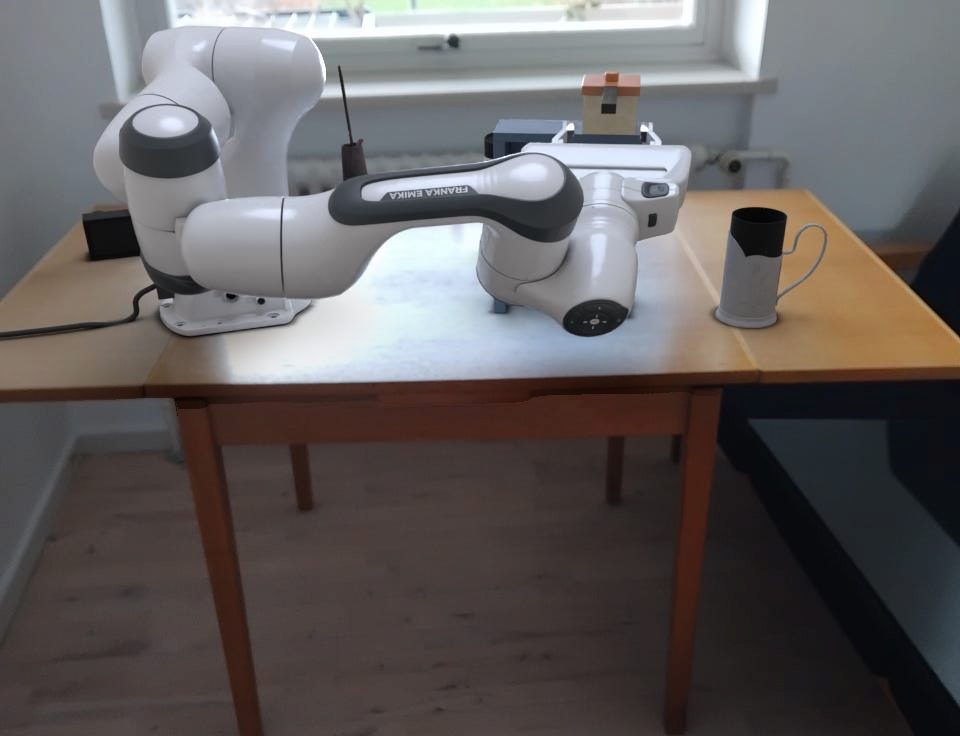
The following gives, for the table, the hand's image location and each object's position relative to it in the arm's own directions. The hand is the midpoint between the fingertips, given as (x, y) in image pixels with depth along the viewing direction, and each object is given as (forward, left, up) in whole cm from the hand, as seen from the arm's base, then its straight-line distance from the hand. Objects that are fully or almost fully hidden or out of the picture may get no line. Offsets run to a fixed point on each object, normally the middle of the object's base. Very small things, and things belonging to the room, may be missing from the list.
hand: (607, 125), depth 125 cm
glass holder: (+27, -3, -30) cm, 41 cm away
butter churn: (-7, +66, -30) cm, 73 cm away
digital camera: (-49, +74, -30) cm, 93 cm away
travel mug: (+7, +39, -30) cm, 50 cm away
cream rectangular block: (+9, +12, -4) cm, 15 cm away
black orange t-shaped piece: (+5, +8, +1) cm, 9 cm away
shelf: (+4, +15, -30) cm, 34 cm away
